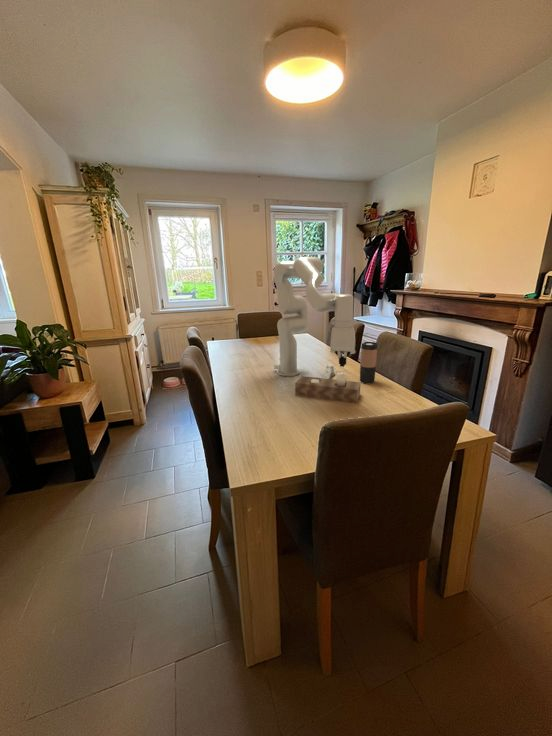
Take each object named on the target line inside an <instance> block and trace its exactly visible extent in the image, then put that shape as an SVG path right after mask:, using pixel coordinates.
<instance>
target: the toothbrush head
mask: <svg viewBox="0 0 552 736" xmlns="http://www.w3.org/2000/svg"><path fill="white" fill-rule="evenodd" d="M335 372H336V369H335V367H334V364H333V363H328V364H327V365H326V368H325V370H324V373H323V376H322V377H321V378H324V379H331V377H333V376H335Z"/></svg>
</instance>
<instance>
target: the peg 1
mask: <svg viewBox="0 0 552 736" xmlns="http://www.w3.org/2000/svg"><path fill="white" fill-rule="evenodd" d="M311 383H319V380H318V379H312V380H311Z"/></svg>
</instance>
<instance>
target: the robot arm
mask: <svg viewBox="0 0 552 736" xmlns="http://www.w3.org/2000/svg"><path fill="white" fill-rule="evenodd" d="M323 265H324V264H323V261H322V260H321V259H320V258H319V257H317V256H301V257H298V258H296V259H295V260H284V261H283V260H282V261H279V262H277V263H276V264H275V266H274V268H273V280H274V283H275V286H276V293H277V294H276V295H277V306H278V311H279V313H280V314H281V315H291V316H285V317H284V316H283V317H282V318H280V319H278V321H277V322H276V323H277V324H276V328H277V331H278V332H277V333H278V340H279V342H278V343H279V364H273V369H275V370H277V374H278V375H279V376H282V377H294V376H298V375H299V374H300V372H301V370H300V369H298V343H297V339H296V337H294V335H297V334H300V333H301V334H303V333H306V331H308V328H309V317H308V316H309V313H308V303H309V304H310V306H311V307H312V308H313V309H314V310H315V311H316V312H319V313H327V312H334V320H333V321H331V322H330V325H333V327H332V329H331V335H330V345H329V347H330V353H333V354H335V355H336V356H337V357H338V365H339V367H343V368H344V367H345V366H346V365H347V357H348V356H349V355H354V354H356V332H355V327H353V324H354V323H353V322H354V321H353V320H354V296H353V295H352V294H350V293H349V294H348V293H343V294H342V293H338V292H333V293H321V292H319V290H318V288H319V287H320V286H321V285H322V283H323V282H324V276H323V274H322V273H321V272H322V271H323V268H324V267H323ZM289 279H300V280H301V281H302V283H303V284H304V285H305V287H306V289H305V295H306V298H305V297H304V296H302V295H298V294H297V295H294V288H293V284H292V283H291V281H290V280H289ZM306 299H307V300H306ZM307 302H308V303H307ZM293 314H294V315H293ZM292 315H293V316H292ZM342 353H343V354H342Z"/></svg>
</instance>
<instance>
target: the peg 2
mask: <svg viewBox="0 0 552 736" xmlns="http://www.w3.org/2000/svg"><path fill="white" fill-rule="evenodd" d="M346 379H347V374H346V372H341V371H338V372H337V373H336V379H335V380H336V385H337V386H345V382H346V381H347V380H346Z"/></svg>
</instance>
